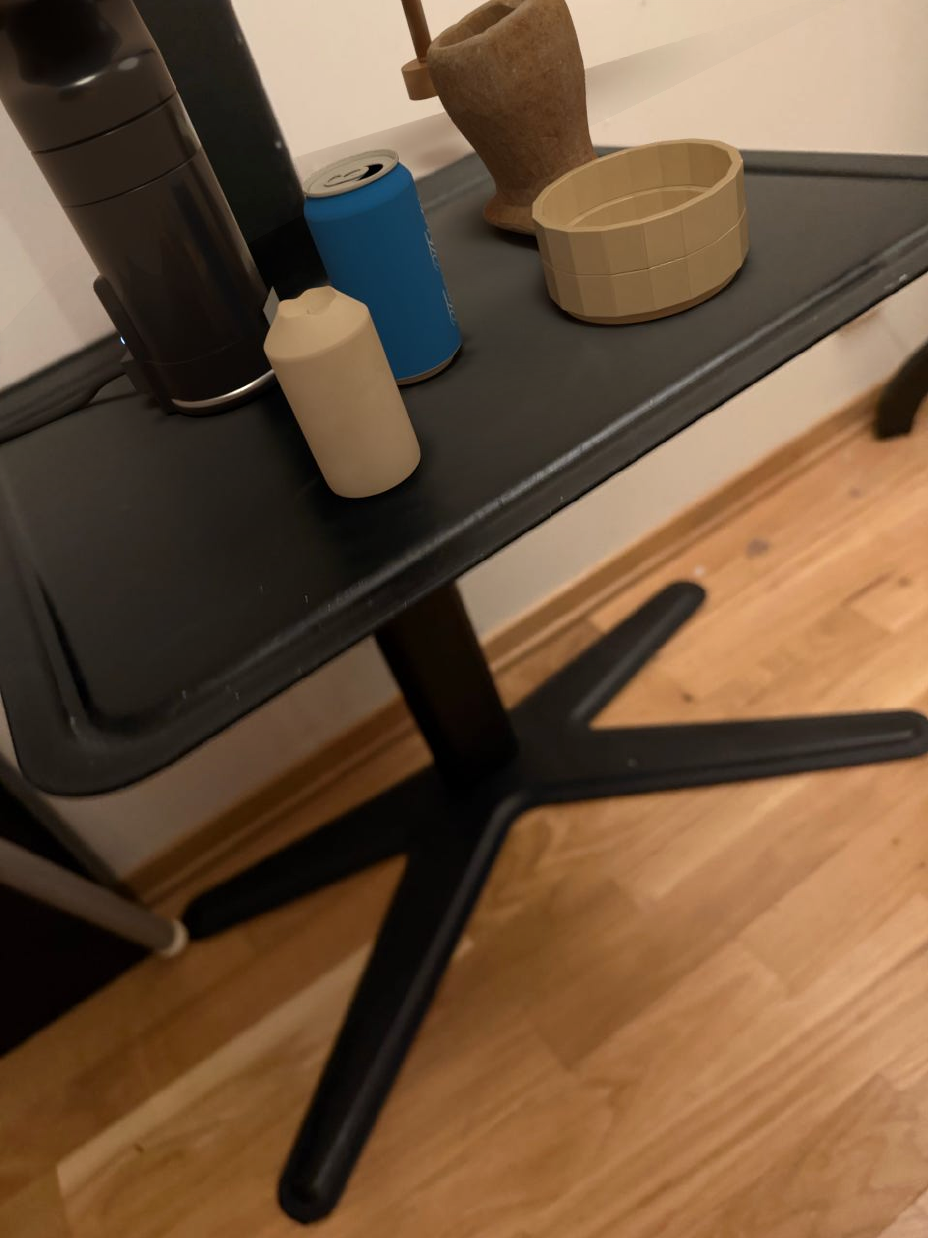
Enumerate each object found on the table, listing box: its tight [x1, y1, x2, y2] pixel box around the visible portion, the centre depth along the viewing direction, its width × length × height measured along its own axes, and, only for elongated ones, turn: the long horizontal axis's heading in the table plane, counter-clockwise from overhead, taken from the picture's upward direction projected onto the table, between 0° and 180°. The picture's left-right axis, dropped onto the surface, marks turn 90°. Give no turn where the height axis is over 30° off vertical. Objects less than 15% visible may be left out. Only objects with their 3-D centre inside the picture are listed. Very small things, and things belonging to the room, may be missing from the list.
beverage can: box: [301, 148, 463, 386], centre depth 53 cm, size 6×6×12 cm
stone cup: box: [427, 0, 600, 237], centre depth 62 cm, size 15×12×15 cm
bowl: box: [532, 137, 750, 325], centre depth 55 cm, size 12×12×6 cm
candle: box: [264, 285, 421, 499], centre depth 46 cm, size 6×6×10 cm
